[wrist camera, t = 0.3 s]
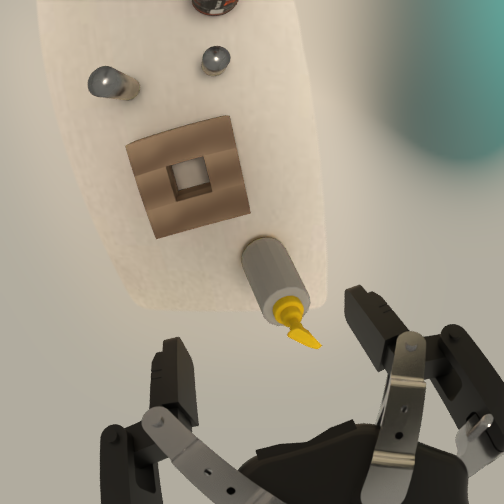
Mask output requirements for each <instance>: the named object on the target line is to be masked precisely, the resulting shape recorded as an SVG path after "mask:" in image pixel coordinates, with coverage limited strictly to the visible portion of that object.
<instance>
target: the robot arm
mask: <svg viewBox="0 0 504 504" xmlns="http://www.w3.org/2000/svg"><path fill="white" fill-rule="evenodd" d="M344 312H345V318H346V321H347V323H348V324H349V326H350V328H351V330H352V331H353V333H354V334H355V336H356V338H357V339H358V341H359V342H360V344H361V346H362V347H363V349H364V350H365V352H366V353H367V355H368V357H369V358H370V360H371V362H372V363H373V365H374V367H375V368H376V370H377V371H378V372H379V371H382V370H384V369H385V370H386V371H387V373H388V375H387V379H386V384H385V388H384V393H383V398H382V402H381V406H380V410H379V413H378V417H377V420H376V423H375V424H365V423H363V424H355V423H354V421H353V419H352V420H350V421H347V422H344V423H342V424H339V425H337V426H334V427H331V428H329V429H328V430H326V431H325V432H323V433H321V434H320V435H318V436H316V437H315V438H313V439H312V440H310V441H308V442H303V443H287V444H278V445H274V446H270V447H266V448H262V449H258V450H256V454H257V456H255V457H253V458H251V459H249V460H248V461H247V462H245V463H244V464H243V465H242V466H241V467H240V468H239V469H238V470H236V469H235V468H233V467H232V466H231V465H230V464H228V463H227V462H226V461H225V460H223V459H222V458H221V457H220V456H218V455H217V454H216V453H215V452H214V451H212V450H211V449H210V448H209V447H208V446H207V445H205V444H204V443H203V442H202V441H201V440H199V439H198V438H197V437H196V436H195V435H194V434H193V433H192V427H194V426H198V425H199V423H198V413H197V402H196V391H195V377H194V366H193V362H192V359H191V357H190V355H189V353H188V351H187V349H186V348H185V346H184V344H183V342H182V340H181V339H180V337H175V338H171V339H167V340H164V341H163V352H158V353H156V355H155V357H154V359H153V361H152V368H151V372H152V373H151V384H150V407H149V410H148V411H147V412H146V413H145V414H144V415H143V418H142V420H141V421H140V422H138V423H136V424H134V425H131V426H129V427H126V428H123V427H122V426H120V425H117V424H114V425H110V426H108V427H107V428H105V429H104V431H103V432H102V434H101V440H100V489H101V490H100V491H101V504H163V500H162V493H161V486H160V478H159V470H158V462H159V461H161V460H163V459H166V458H168V457H169V458H170V459H171V462H172V464H173V465H174V466H175V467H176V468H177V469H178V470H179V471H180V472H181V473H182V474H183V475H184V476H185V477H186V478H187V479H188V480H189V481H190V482H191V483H192V484H193V485H194V486H195V487H197V488H198V489H199V490H200V491H201V492H202V493H203V494H204V495H205V496H207V497H208V498H209V499H210V500H211V501H212V502H214V503H215V504H469V502H468V493H467V491H468V478H469V477H471V476H472V475H474V474H475V473H476V472H478V471H479V470H480V469H482V468H483V467H485V466H486V465H488V464H490V463H491V462H493V461H495V460H496V459H497V458H499V457H500V456H502V455H503V454H504V382H503V381H502V379H501V378H500V376H499V375H498V374H497V372H496V371H495V369H494V368H493V366H492V365H491V364H490V362H489V361H488V359H487V358H486V357H485V355H484V354H483V353H482V351H481V350H480V349H479V347H478V346H477V345H476V344H475V342H474V341H473V340H472V338H471V337H470V336H469V335H468V334H467V332H466V331H465V330H464V329H463V328H462V327H460V326H459V325H455V324H450V325H447V326H445V327H444V328H443V329H442V331H441V334H438V335H433V336H426V337H423V336H422V335H421V334H419V333H417V332H414V331H409V330H408V329H407V327H406V326H405V325H404V324H403V322H402V321H401V320H400V318H399V317H398V316H397V315H396V314H395V312H394V311H393V310H392V309H391V308H390V306H389V305H387V303H386V302H385V300H384V299H383V298H382V297H381V296H380V295H378V294H376V293H374V292H369V293H367V292H366V291H365V289H364V288H363V287H362V286H361V285H357V286H354V287H352V288H349V289H346V290H345V308H344ZM425 379H430V380H431V382H432V383H433V385H434V387H435V388H436V390H437V392H438V393H439V395H440V397H441V399H442V400H443V402H444V404H445V406H446V407H447V409H448V411H449V413H450V415H451V416H452V418H453V420H454V422H455V424H456V426H457V428H458V429H459V431H458V432H457V435H456V446H457V449H458V452H457V456H456V455H453V454H451V453H448V452H445V451H442V450H439V449H437V448H434V447H431V446H428V445H425V444H423V443H420V442H418V438H419V432H420V427H421V421H422V415H423V407H424V400H425V392H426V382H424V380H425Z"/></svg>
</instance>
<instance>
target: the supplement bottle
mask: <svg viewBox="0 0 504 504" xmlns="http://www.w3.org/2000/svg"><path fill="white" fill-rule="evenodd" d="M237 2H238V0H192V4H193V6H194V7H195V8H196V9H197V10H198V11H199V12H201V13H203V14H206V15H221V14H225V13H227V12H229V11H230V10H232V9H233V8H234V6H235V5H236V4H237Z"/></svg>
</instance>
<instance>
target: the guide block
mask: <svg viewBox="0 0 504 504" xmlns="http://www.w3.org/2000/svg"><path fill="white" fill-rule="evenodd" d="M125 147H126V150H127V153H128V157H129V160H130V164H131V167H132V170H133V173H134V176H135V180H136V183H137V186H138V189H139V192H140V195H141V198H142V201H143V204H144V207H145V210H146V212H147V215H148V218H149V221H150V224H151V226H152V229H153V232H154V235H155V237H156V239H159V238H162V237H166V236H169V235H173V234H176V233H180V232H183V231H187V230H190V229H194V228H198V227H201V226H205V225H209V224H212V223H216V222H220V221H223V220H227V219H231V218H235V217H239V216H243V215H246V214H250V213H251V212H250V207H249V202H248V198H247V193H246V189H245V184H244V179H243V175H242V170H241V166H240V161H239V156H238V152H237V147H236V143H235V138H234V134H233V129H232V125H231V120H230V116H226V115H225V116H220V117H216V118H212V119H208V120H204V121H200V122H196V123H192V124H189V125H185V126H181V127H178V128H174V129H171V130H168V131H164V132H161V133H158V134H155V135H152V136H149V137H146V138H143V139H140V140H137V141H134V142H132V143H130V144H128V145H126V146H125ZM201 156H204V160H205V164H206V168H207V172H208V176H209V180H210V182H208V183H204V184H201V185H197V186H194V187H190V188H186V189H183V190H179V191H178V187H177V184H176V181H175V177H174V174H173V170H172V167H171V165H173V164H176V163H180V162H183V161H187V160H190V159H194V158H198V157H201Z"/></svg>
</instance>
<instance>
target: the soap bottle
mask: <svg viewBox="0 0 504 504" xmlns="http://www.w3.org/2000/svg"><path fill="white" fill-rule="evenodd" d="M241 262H242V265H243V269H244V271H245V274H246V276H247V278H248V281H249V283H250V285H251V288H252V290H253V293H254V295H255V297H256V300H257V302H258V304H259V307H260V309H261V311H262V314H263V316H264V318H265V319H266V320H267V321H268V322H269V323H271V324H274V325H277V326H286V327H290V332H288V334H287V336H288V337H290V338H291V339H294V340H295V341H297V342H299V343H301V344H303V345H305V346H308V347H310V348H314V349H319V348H320V347H321V346H322V345H321V344H320V343H319V342H318V341H317V340H316V339H315V338H314V337H313V336H312V335H311V333H310V332H309V331H308V330H306V329H305V328H303V326H302V324H301V323H300V322H301V320H302V317H303V316H304V315H305V313H306V312H307V311H308V309H309V306H310V297H309V294H308V292H307V290H306V288H305V286H304V284H303V282H302V280H301V278H300V276H299V274H298V272H297V270H296V268H295V266H294V264H293V262H292V260H291V258H290V256H289V254H288V252H287V250H286V248H285V247H284V246H283V244H282V243H281V242H280V241H278V240H276V239H274V238H260V239H257V240H255V241H253V242H252V243H251V244H249V245H248V246H247V248H246V249H245V251H244V252H243V255H242V261H241Z"/></svg>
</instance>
